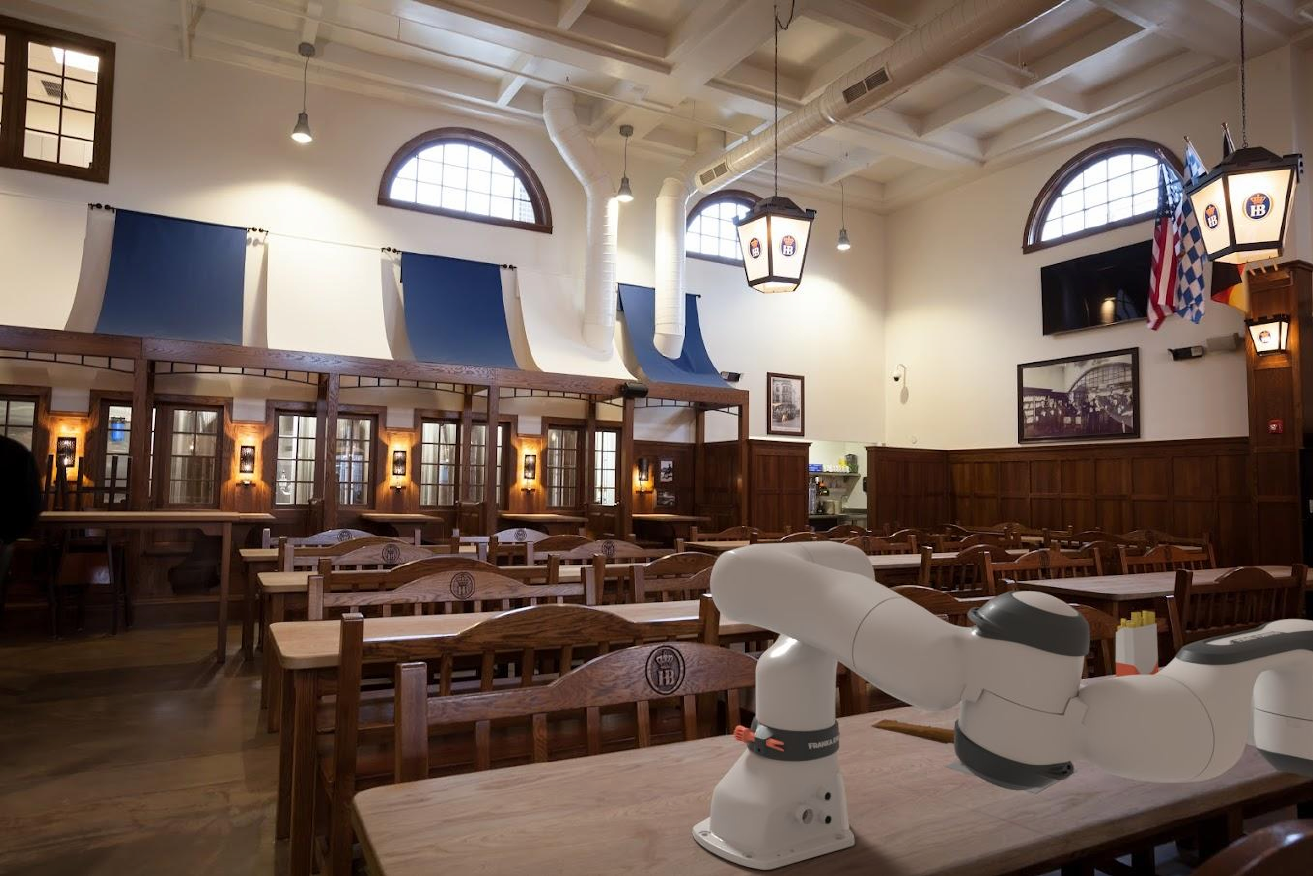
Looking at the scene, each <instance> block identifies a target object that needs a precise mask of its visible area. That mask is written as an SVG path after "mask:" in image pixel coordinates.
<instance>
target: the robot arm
mask: <svg viewBox="0 0 1313 876" xmlns="http://www.w3.org/2000/svg"><path fill="white" fill-rule="evenodd" d="M710 573H711V574H710V579H709V587H710V588H709V589H710V590H709V591H710V594H711V597H712V600H713V603H714V605H715V607H716V608H717V610H718V611H719V613H720V614H721V616H723V617H724V618H725V619H727V620H729V621H733V622H737V623H743V624H747V625H751V626H756V627H759V628H763V629H766V630H768V631H771V632H774V633H777V634H779V635H778V637H777V639H776V641H775V642H774V643H773V644H772V645H771V646H770V647H768V648H767V649H766V650H765V651H764V652H763V653H762V654H761V655H760V657H759V658H758V660H757V663H756V666H755V716H754V717H753V719H752V721H751V726H750V728H748V727H745V726H743V725H737V726H736V727H735V730H733V738H734V739H735V740H736V741H738V742H743V743H744V744H746V747H747V748H746V750H745V751H744V752H743V753H742V754H741V755H740V757H739V758H738V760H736V762H735V763H734V765H732V767H731V768H730V770H728V771H727V773H726V774H725V775H724V776H723V778H722V779H721V780H720V781H719V782H718V784H717V785H716V786H715V787H714V789H713V793H712V795H711V796H712V797H711V804H710V815H709V816H708V817H707V818H705V819H704V820H702V821H700V822H698V823H696V824H694V826H693V827H692V835H693V836H692V837H693V839H694V840H695V841H696V842H697V843H698V844H699V845H700V846H702V847H703V848H704V849H706V850H707V851H709V852H711V853H713V854H715V855H717V856H718V857H721V858H723V859H725V860H727V861H729V862H732V863H736V864H737V865H741V866H744V867H747V868H752V869H756V870H763V871H764V870H765V871H767V870H773V869H777V868H781V867H784V866H788V865H792V864H794V863H798V862H801V861H804V860H808V859H811V858H814V857H818V856H822V855H825V854H830V853H833V852H835V851H839V850H843V849H847V848H850V847H853V846H854V845H855V844H856V842H855V835H854V833H853V831H852V830H851V828H850V824H849V818H848V817H849V816H848V808H847V797H846V791H845V790H846V789H845V780H844V776H843V773H842V770H841V767H840V763H839V760H838V754H837V752H838V750H839V749H840V739H841V736H840V733H841V732H840V731H839V730H840V727H839V722H838V720H837V719H836V689H837V687H836V686H837V685H836V684H837V683H836V682H837V668H838V662H839V663H841V664H842V665H844V666H845V668H847V669H849V670H851V671H852V672H854V674H857V676H859V677H861V678H862V679H864V680H865V681H867V682H868V683H870V684H871V685H873V686H874V687H875V688H877V689H878V690H881V691H882V692H884V693H886V694H887V695H889V696H891V697H893V698H896V699H897V700H899V701H902V702H903V703H906V704H908V705H910V706H912V707H915V708H918V709H920V710H922V711H923V710H924V711H926V712H942V711H947V710H950V709H951V708H952V709H953V707H955V706H957V705H959V703H960V706H959V713H958V719H956V720H955V722H954V729H953V730H954V743H953V746H954V747H953V748H954V753H955V755H956V757H957V758H958V761H959V760H960V761H961V762H962V763H963V765H964V766H965V767H966V768H967V769H968V770H969V771H971V772H972V773H973V774H975V775H976V776H975V777H977V778H979V779H982V780H983V781H985V782H987V783H989V784H991V785H993V786H996V787H1000V788H1003V789H1006V790H1013V791H1025V790H1028V789H1033V788H1037V787H1042V786H1045V785H1047V784H1048V783H1050V782H1052V781H1053V780H1054V779H1055V780H1060V781H1065V780H1067V779H1068V778H1070V777H1071V776H1072V775H1073V774H1074V773H1073V772H1074V770H1075V766H1074V764H1073V762H1072V761H1075V760H1079V761H1083V762H1086V763H1088V764H1089V765H1091V766H1092V767H1095V768H1096V769H1099V770H1100V771H1101V772H1104V773H1106V774H1107V773H1108V774H1110V775H1113V776H1117V777H1122V778H1125V779H1130V780H1135V781H1142V782H1149V783H1161V784H1163V783H1164V784H1167V783H1169V784H1170V783H1171V784H1172V783H1173V784H1176V783H1177V784H1178V783H1179V784H1180V783H1181V784H1183V783H1196V782H1202V781H1203V782H1204V781H1207V780H1211V779H1214V778H1216V777H1217V778H1218V777H1219V776H1221V775H1222V774H1224V773H1226V772H1227V771H1229V770H1231V768H1232V767H1234V766H1235V765H1236V763H1237V762H1238V761H1239V760H1240V758H1241V757H1242V755H1243V753H1244V751H1245V748H1246V746H1247V745H1249V746H1254V747H1256V750H1257V751H1258V752H1259V754H1260V756H1262V758H1264V759H1265V761H1267V762H1268V764H1270V766H1272V767H1273V768H1274V769H1275V770H1276V771H1279V772H1285V773H1286V772H1287V773H1290V774H1294V775H1295V774H1296V775H1300V776H1304V777H1309V778H1312V779H1313V620H1311V619H1310V620H1309V619H1300V618H1288V619H1278V620H1274V621H1269V622H1266V623H1265V622H1264V623H1263V624H1261V625H1259V626H1257V627H1255V628H1251V629H1247V630H1241V631H1238V632H1237V631H1236V632H1233V633H1228V634H1224V635H1218V636H1213V637H1210V638H1205V639H1201V640H1198V641H1197V640H1196V641H1194V642H1191V643H1188V644H1186V645H1184V646H1182V647H1181V648H1180V650H1179V651H1178V652H1177V653H1176V654H1175V656H1174V658H1173V659H1172V660H1171V661H1170V662H1169V663H1168V664H1167V665H1166V666H1164V667H1163V668H1162V669H1161V670H1158V673H1156V674H1154V675H1128V676H1120V677H1116V676H1114V677H1111V678H1110V677H1109V678H1105V679H1104V678H1103V679H1101V680H1098V681H1094V682H1091V683H1088V684H1083V683H1081V682H1082V676H1083V671H1084V664H1085V662H1084V661H1085V656H1087V655H1088V654H1089V653H1090V643H1091V641H1090V638H1091V635H1090V625H1089V621H1087V619H1086V618H1085V617H1084V615H1083V614H1082V613H1081V612H1080V611H1079V610H1077V609H1075V608H1074V607H1072V606H1071V605H1069V604H1068V603H1066V602H1065V601H1063V600H1062V599H1060V598H1057V597H1055V596H1053V595H1051V594H1049V593H1045V592H1041V591H1032V590H1028V591H1027V590H1022V591H1021V590H1010V591H1007V592H1004V593H1002V594H999V595H997V596H994V597H991V598H990V599H989V600H988V601H987V602H986V603H984V604H983V605H982V606H981V607H979V606H974V607H971V608H970V609H969V611H968V612H967V613H966V614H967V615H966V616H967V617H968V618H969V620H971V622H972V623H974V624H975V625H972V626H971V627H967V626H960V625H955V624H952V623H950V622H947V621H945V620H944V619H942V618H941V617H938V616H937V615H935V614H933V613H932V612H930V611H929V610H928V609H926V608H925V607H923V606H922V605H919V604H917V603H916V602H914V601H912V600H911V599H909V598H908V597H905V596H903V595H902V594H900V593H898V592H896V591H895V590H892V589H891V588H888V587H887V586H885V585H883V584H881V583H879V582H877V581H876V576H875V569H874V566H873V564H872V562H871V560H870V558H869V557H868V555H867V554H866V553H865V552H864V551H863V550H862V549H861V548H859V547H857V546H855V545H850V544H846V543H842V542H838V541H832V540H818V541H793V542H777V543H776V542H775V543H774V542H771V543H753V544H749V545H743V546H740V547H737V548H734V549H730V550H726V551H724V552H723V553H722V554H720V555H719V556H718V557H717V560H715V563H714V565H713V568H712V569H711V572H710ZM1072 773H1073V774H1072Z"/></svg>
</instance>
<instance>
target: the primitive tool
mask: <svg viewBox="0 0 1313 876" xmlns="http://www.w3.org/2000/svg"><path fill="white" fill-rule="evenodd" d="M870 727H872V728H876V729H880V730H886V731H890V732H896V733H901V734H905V735H910V736H914V737H920V738H924V739H929V740H933V741H940V742H944V743H949V744H950V743H953V744H954V729H950V728H949V729H948V728H943V727H934V726H930V725H928V726H926V725H920V724H919V725H918V724H913V723H907V722H900V721H898V720H896V719H893V720H892V719H886V718H884V719H881V720H880V721H879V722H876V723H874V724H872V725H870Z"/></svg>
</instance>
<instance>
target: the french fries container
mask: <svg viewBox="0 0 1313 876" xmlns="http://www.w3.org/2000/svg"><path fill="white" fill-rule="evenodd" d="M1130 614H1131V615H1130V616H1131V617H1130V619H1131V620H1130V621H1128V620H1127V619H1126V618H1120V625H1118V626H1117V627H1116V628H1117V631H1116V632H1115V677H1120V676H1128V675H1154V674H1156V673H1158V672H1159V655H1158V654H1159V653H1158V651H1159V650H1158V631H1157V625H1158V624H1157V623H1156V613H1155V611H1154V612H1153V611H1147V610H1142V611H1141V612H1140V611H1137V612H1133V611H1132V612H1131V613H1130Z"/></svg>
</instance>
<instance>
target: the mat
mask: <svg viewBox="0 0 1313 876" xmlns="http://www.w3.org/2000/svg"><path fill="white" fill-rule="evenodd" d="M944 768H947V769H951V770H955V771H957V772H961V773H964V774H969V775H971V776H973V777H977V776H976V775H975V774H973V773H972V772H971V771H969V770H968V769H967V768H966V767H965V766H964V765H963V764H962V763H960V760H959V759H958V760H957V761H953V762H952V763H950V764H948V765H945V766H944ZM1076 772H1078V770H1076V769H1074V772H1073V773H1072V775H1073V774H1075V773H1076ZM1060 781H1061V780H1055V779H1054V780H1053V781H1052V782H1050V783H1048V784H1047V785H1045V786H1042V787H1037V788H1033V789H1028V790H1024V791H1025V792H1027V793H1028V792H1029V793H1033V794H1038V793H1040V792H1041V791H1044V790H1045V789H1046V788H1049V787H1050V786H1052V785H1054V784H1056V783H1058V782H1060Z"/></svg>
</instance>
